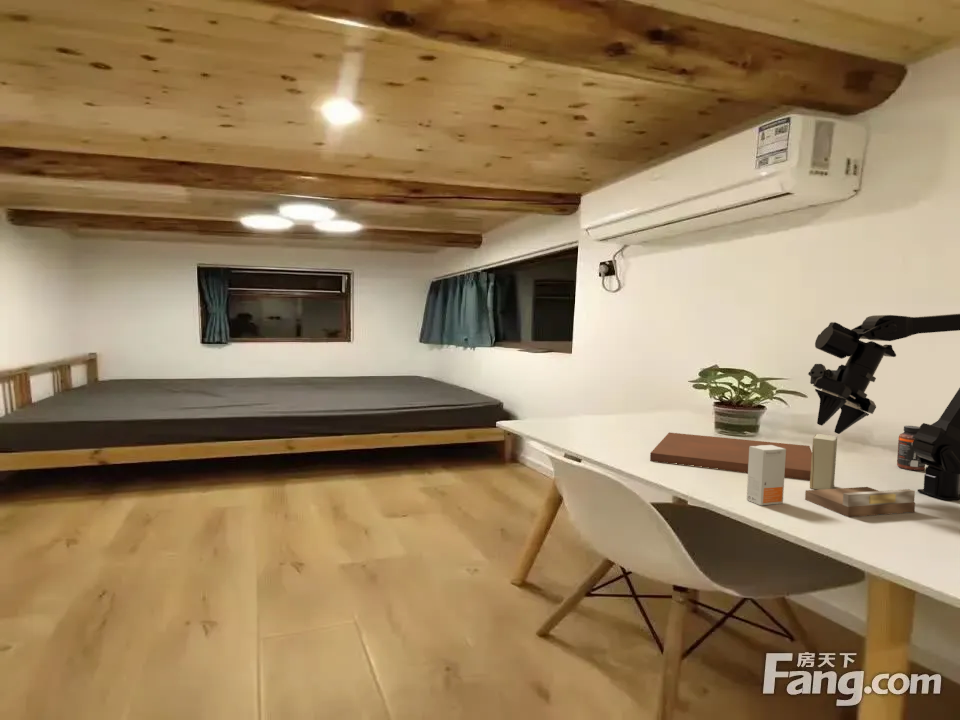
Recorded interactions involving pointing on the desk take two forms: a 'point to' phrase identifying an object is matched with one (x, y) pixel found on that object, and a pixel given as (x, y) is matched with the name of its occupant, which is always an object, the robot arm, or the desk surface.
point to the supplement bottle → (908, 450)
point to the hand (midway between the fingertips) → (828, 429)
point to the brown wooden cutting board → (727, 453)
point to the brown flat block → (863, 500)
